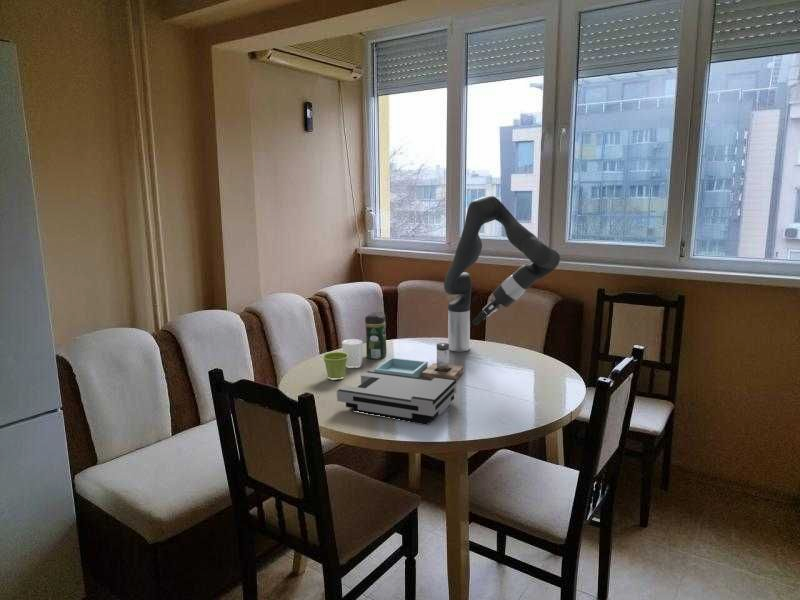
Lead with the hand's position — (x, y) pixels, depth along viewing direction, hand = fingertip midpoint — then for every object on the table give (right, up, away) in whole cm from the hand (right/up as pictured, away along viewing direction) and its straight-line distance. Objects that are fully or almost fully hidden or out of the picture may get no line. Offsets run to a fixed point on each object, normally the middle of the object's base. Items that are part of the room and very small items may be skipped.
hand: (476, 321), depth 194 cm
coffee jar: (-37, -16, +35) cm, 53 cm away
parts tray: (-27, -21, +10) cm, 35 cm away
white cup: (-46, -19, +23) cm, 54 cm away
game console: (-28, -27, -19) cm, 43 cm away
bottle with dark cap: (-11, -21, +9) cm, 25 cm away
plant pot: (-51, -22, +9) cm, 56 cm away
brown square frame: (-11, -21, +9) cm, 25 cm away
